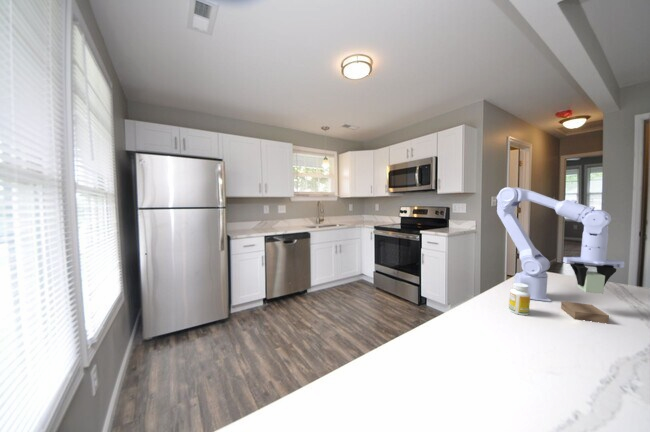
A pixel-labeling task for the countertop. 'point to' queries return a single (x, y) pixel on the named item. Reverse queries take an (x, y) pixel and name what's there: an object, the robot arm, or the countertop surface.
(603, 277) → the sage block
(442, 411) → the countertop surface
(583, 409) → the countertop surface
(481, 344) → the countertop surface
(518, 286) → the supplement bottle
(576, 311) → the walnut block
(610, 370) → the countertop surface
